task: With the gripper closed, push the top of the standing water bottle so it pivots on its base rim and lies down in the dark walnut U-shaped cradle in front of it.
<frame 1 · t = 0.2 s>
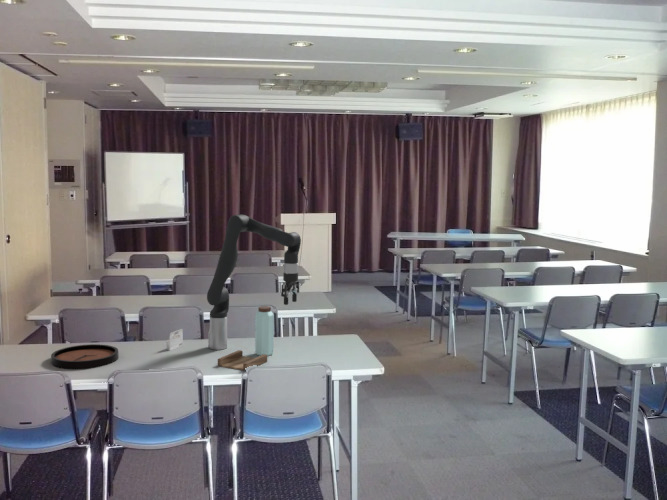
hand: (290, 303, 318), 29 cm above the table, tool pointing down, fingers open, 8 cm apart
water bottle: (264, 354, 329), on the table
wall clock: (85, 360, 313), on the table
ink cartridge box: (174, 348, 338), on the table
cradle: (242, 363, 311), on the table
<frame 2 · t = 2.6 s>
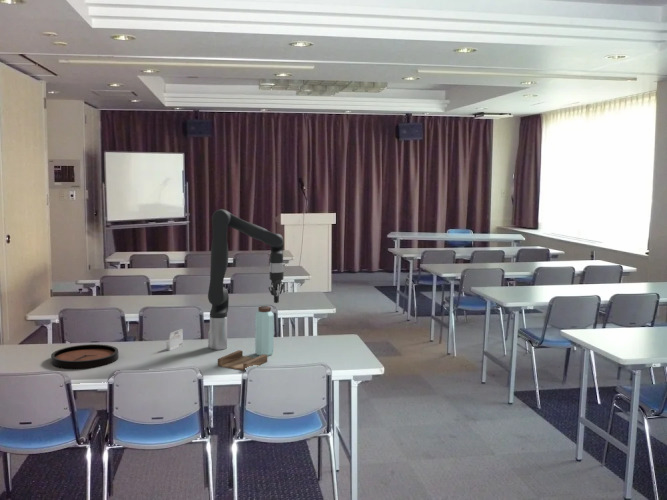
hand: (276, 302, 337), 25 cm above the table, tool pointing down, fingers closed
nothing on the table moved.
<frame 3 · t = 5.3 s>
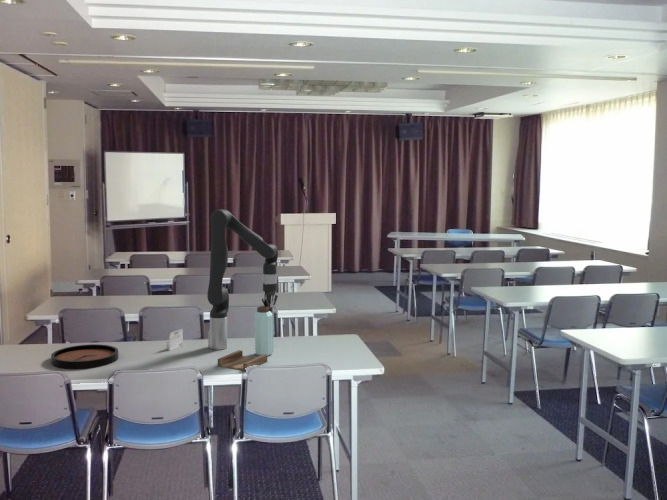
hand: (269, 314, 332), 20 cm above the table, tool pointing down, fingers closed
water bottle: (264, 353, 329), on the table, touching gripper, hand
everything else where it was.
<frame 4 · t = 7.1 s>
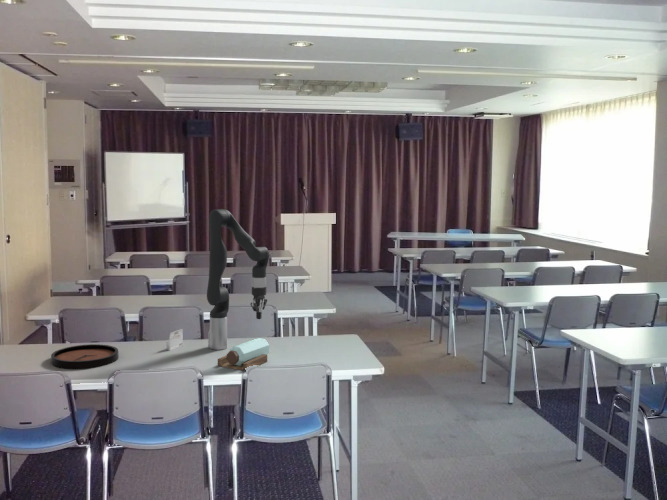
hand: (258, 318, 322), 20 cm above the table, tool pointing down, fingers closed
water bottle: (263, 346, 324), point 5 cm above the table, touching cradle
everything else where it was.
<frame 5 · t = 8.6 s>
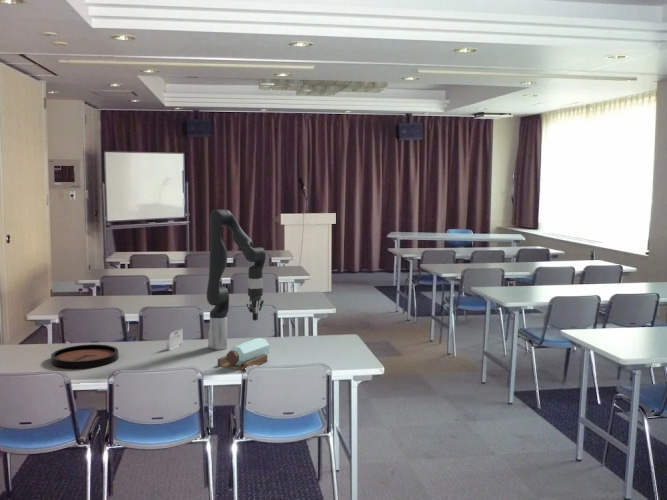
hand: (255, 320, 319), 20 cm above the table, tool pointing down, fingers closed
nothing on the table moved.
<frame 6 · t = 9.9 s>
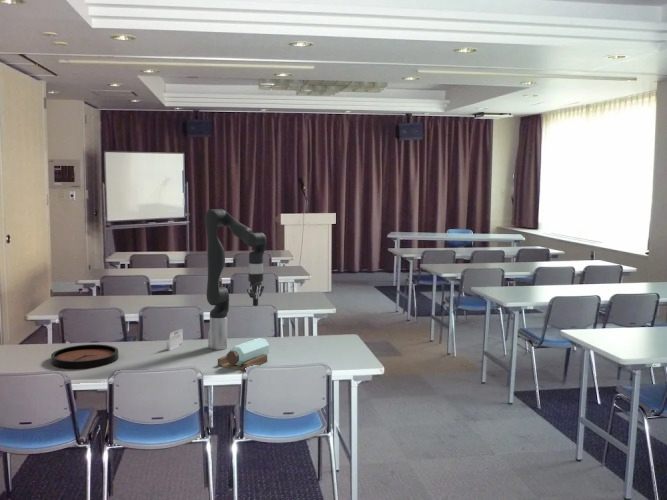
hand: (255, 305, 318), 28 cm above the table, tool pointing down, fingers closed
nothing on the table moved.
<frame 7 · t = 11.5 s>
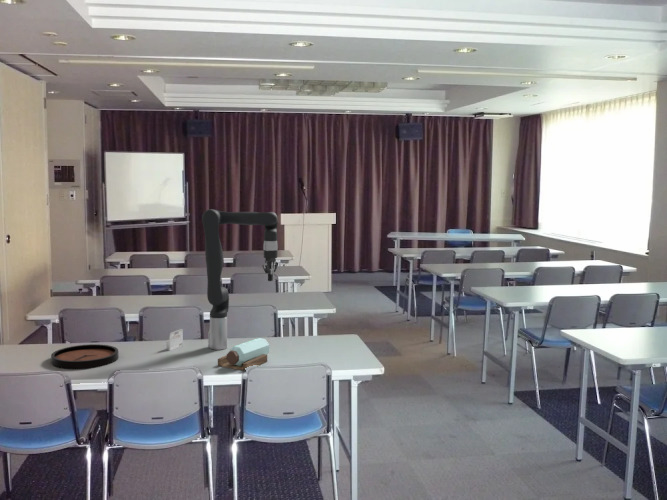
hand: (270, 280, 338), 37 cm above the table, tool pointing down, fingers closed
nothing on the table moved.
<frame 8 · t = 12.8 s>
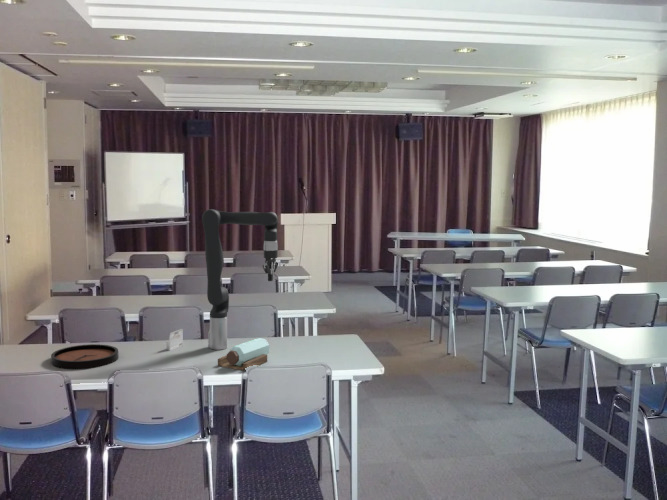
hand: (270, 280, 338), 37 cm above the table, tool pointing down, fingers closed
nothing on the table moved.
at the end: water bottle tilted 90°; water bottle touching cradle; water bottle inside the target area (3.1 cm from its centre), point 5.4 cm above the table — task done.
